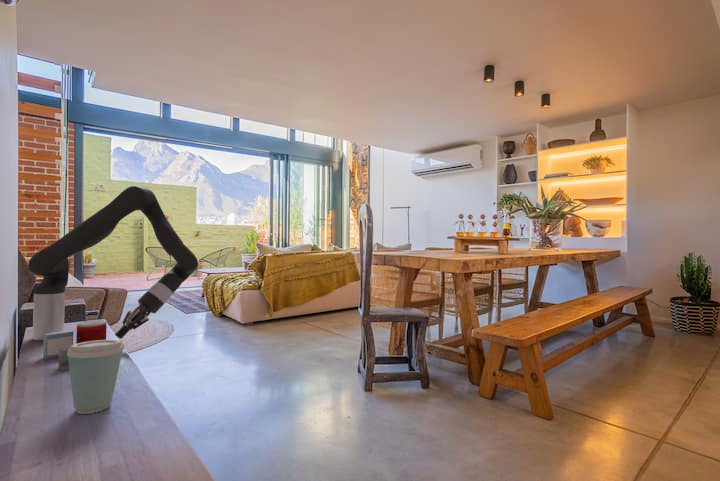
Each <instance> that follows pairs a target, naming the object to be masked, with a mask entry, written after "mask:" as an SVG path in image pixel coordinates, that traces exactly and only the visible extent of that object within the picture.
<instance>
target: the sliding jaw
mask: <svg viewBox="0 0 720 481" xmlns="http://www.w3.org/2000/svg"><path fill="white" fill-rule="evenodd" d="M72 345H74V331H73V330H71V329H69V330H64V331H60V332H53V333H46V334H44V340H43V349H42V350H43V351H42V352H43V354H42V355H43V356H42V357H43V359H45V360H48V359H54V358H59V349H63V348H69V347H71V346H72Z"/></svg>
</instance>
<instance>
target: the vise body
mask: <svg viewBox="0 0 720 481" xmlns="http://www.w3.org/2000/svg"><path fill="white" fill-rule="evenodd" d="M69 349H70V347H69V348H63V349H59V357H58V371H59V372H60V373H65V372H70V369H69V361H68V356H67V351H68V350H69Z"/></svg>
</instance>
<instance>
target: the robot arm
mask: <svg viewBox="0 0 720 481" xmlns="http://www.w3.org/2000/svg"><path fill="white" fill-rule="evenodd" d="M135 211H136V212H137V211H141V213H142V214H143V215H144V216H145V217H146V218H147V219H148V221H149V223H150V224H151V226H152V228H153V231H154V232H153V233H154V235H155V238H156V240H157V241H158V242H159V244H160V246H161V247H162V248H163V250H164V251H165V252H166V254H167V255H169V256H171V257H172V258H173V259H174V260H175V262H176V264H174V266H173V267H172V268H171V269H170V270H169V271H168V272H166V273H165V274H164V275H163V276H162V277H161V278H160V279H158V281H157V282H156V283H155V284H153V285H152V286H151V287H150V288H149V289H148V290H146V292H145V293H144V294H143V295H142V296H141V297H140V298H138V300H137V303H138V304H139V305H138V306H137V307H135V308H134V309H133V310H132V311H131V310H128V311H127V313H126V314H125V317H124V318H123V320H122V326H121V327H120V328H119V329H118V330H117V331H116V333H115V334H114V336H115V337H116V338H118V339H123V338H124V337H125V336H126V335H127V334H128V332H129V331H132V330H136V329H137V328H139V327H140V326H142V325H143V324H146V323H147V322H148V321H150V319H149V318H148V317H149V316H150V314H156V313H157V312H158V311H160V309H161V308H162V307H163V306H164V305H165V304H166V303H167V302H168V300H170V298H171V297H172V295H173V294H175V292H176V291H177V290H178V289H179V288H180V287H181V285H182V284H183V282H185V281H186V280H188V278H189V277H190V276H191V275H192V274H193V273H194V272H195V271H196V270H197V268H198V266H199V260H198V258H197V257H196V255H195V254H194V252H192V251H191V250H190V248H189V247H187V246H186V245H185V244H184V242H183V240H182V239H181V237H180V236H179V235H178V233H177V232H176V231H175V229H174V228H173V226H172V225H171V223H170V222H169V220H168V218H167V216H166V215H165V212H164V211H163V210H162V207H161V205H160V203H159V201H158V199H157V197H156V195H155V193H154V192H153V190H151V189H149V188H147V187H144V186H139V185H132V186H129V187H126V188H125V189H124V190H122V192H121V193H119V194H118V195H117V196H116V197H115V198H113V200H112V201H111V202H109V203H108V204H107V205H105V206H104V207H103V208H101V209H99V210H98V211H96V212H95V213H94V214H93V215H91V216H89V217H88V218H86V219H85V220H84V221H82V222H81V223H80V224H78V225H77V226H76V227H74V228H73V229H72V230H70V231H69V232H67V233H66V234H64V235H63V236H62V237H60V238H59V239H58V240H56V241H55V242H53V243H51V244H49V245H48V246H46V247H45V248H42V249H41V250H39V251H37V252H36V253H34V254H33V255H32V256H31V258H30V259H29V261H28V264H27V265H28V269H29V271H30V272H31V273H32V274H33V275H35V276H42V277H43V278H42V280H41V281H40V283H38V284H36V285H35V286H34V288H33V310H32V311H33V313H32V314H33V315H32V316H33V318H32V340H34V341H44V334H46V333H53V332H60V331H65V310H66V309H65V307H66V306H65V305H66V304H65V303H66V299H65V298H66V288H67V286H68V282H69V275H70V274H69V273H70V261H69V257H71V256H74V255H76V254H77V253H80V252H83V251H85V250H88V249H90V248H92V247H94V246H96V245H97V244H100V243H101V242H102V241H103V240H105V239H106V238H107V237H109V236H110V235H111V234H112V233H113V232H114V230H115V229H116V227H117V225H118V224H119V222H120V221H122V220H123V219H124V218H126V217H127V216H129V215H130V214H132V213H135Z"/></svg>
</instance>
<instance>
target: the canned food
mask: <svg viewBox="0 0 720 481" xmlns="http://www.w3.org/2000/svg"><path fill="white" fill-rule="evenodd" d="M107 325H108V324H107V320H105V319H104V320H102V319H101V320H100V319H94V320H86V321H81V322H79V323H77V324H76V336H75V337H76V340H75V341H76V343H75V344H77V343H82V342H88V341H95V340H107V328H108V327H107Z"/></svg>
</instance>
